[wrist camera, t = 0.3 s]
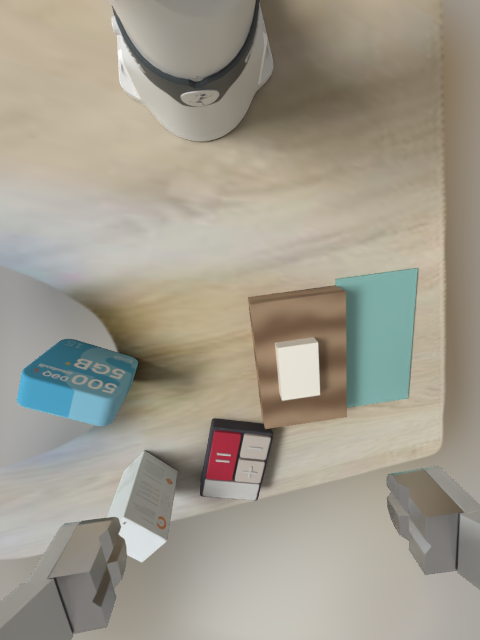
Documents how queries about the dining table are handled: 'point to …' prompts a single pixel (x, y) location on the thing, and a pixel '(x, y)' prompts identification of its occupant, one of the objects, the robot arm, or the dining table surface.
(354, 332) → the mat
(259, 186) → the dining table surface
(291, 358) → the white rectangular eraser
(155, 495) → the small box
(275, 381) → the board
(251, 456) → the calculator
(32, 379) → the data package
